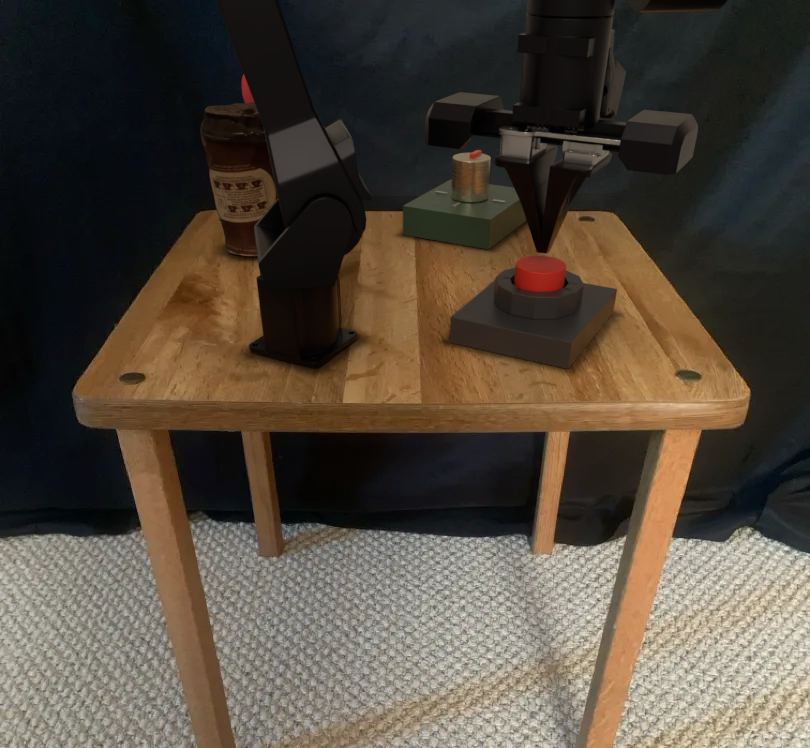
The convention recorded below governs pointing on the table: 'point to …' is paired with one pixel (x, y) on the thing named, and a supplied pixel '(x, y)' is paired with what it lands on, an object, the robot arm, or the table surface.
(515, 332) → the lamp switch
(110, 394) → the table surface
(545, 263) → the light button
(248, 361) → the table surface
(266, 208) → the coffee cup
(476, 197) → the dimmer knob
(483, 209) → the dimmer panel
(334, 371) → the table surface
